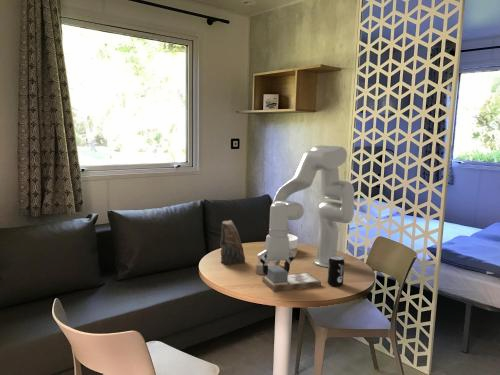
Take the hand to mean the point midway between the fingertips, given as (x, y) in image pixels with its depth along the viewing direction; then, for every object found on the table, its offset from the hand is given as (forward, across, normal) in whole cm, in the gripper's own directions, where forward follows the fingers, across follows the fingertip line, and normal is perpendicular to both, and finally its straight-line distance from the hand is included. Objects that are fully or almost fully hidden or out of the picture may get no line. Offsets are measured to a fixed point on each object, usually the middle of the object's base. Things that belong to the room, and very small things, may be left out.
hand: (276, 273), depth 164 cm
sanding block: (+3, 0, 0) cm, 3 cm away
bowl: (+5, -25, -45) cm, 52 cm away
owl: (+6, +7, -35) cm, 36 cm away
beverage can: (+5, -26, +6) cm, 27 cm away
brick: (+6, -6, -20) cm, 22 cm away
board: (+5, -8, 0) cm, 9 cm away
